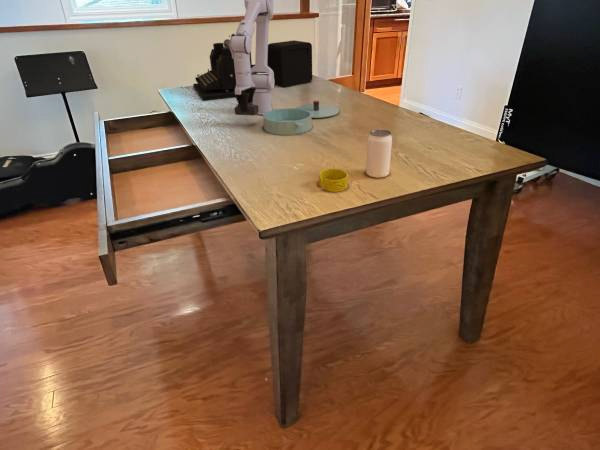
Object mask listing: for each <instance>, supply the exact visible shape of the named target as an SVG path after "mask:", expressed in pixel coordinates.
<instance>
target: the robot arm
mask: <svg viewBox="0 0 600 450" xmlns="http://www.w3.org/2000/svg"><path fill="white" fill-rule="evenodd" d="M243 2H244V8H245V13H244V17H243V19H241V20H240V21H239V23H238V26H237V28H236V31H235V33H234V34H235V36H233V37H232V36H231V37H232V38H231V37H230V39H229V40H230V45H229V47H230V51H231V53H232V58H233V59H234V66H235V76H236V88H235V92H234V96H235V97H234V98H235V100H236V101H237V104H238V103H239V106H240V109H241V112H247V108H248V103H250V102H252V103H253V104H254V105H258V110H259V112H258V113H257V114H256V115H260V116H263V115H264V114H265V113H266V112H268V111H272V110H274V109H275V108H274V109H273V108H272V90H274V88H275V84H274V83H275V81H274V72H273V70H272V69H271V68H270V67H268V64H267V58H268V44H269V27H270V26H269V25H270V21H271V20H272V19H273V18H274V0H244V1H243ZM255 23H256V24H255ZM254 33H255V58H254V59H255V61H254V65H252V68H251V66H250V54H249V53H250V52H251V53H252V48H253V47H252V45H253V40H252V39H253V35H254Z"/></svg>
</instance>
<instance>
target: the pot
mask: <svg viewBox="0 0 600 450" xmlns="http://www.w3.org/2000/svg"><path fill="white" fill-rule="evenodd" d="M262 119H263V130H264V131H265V132H267V133H268V134H272V135H279V136H291V135H292V136H293V135H300V134H305V133H307V132H309V131H310V130H312V126H313V118H312V114H311V112H309V111H307V110H304V109H297V107H286V108H285V107H284V108H276V109H275V108H274V110H272V111H268V112H266V113H265V114H264V115H262Z"/></svg>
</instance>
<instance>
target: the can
mask: <svg viewBox="0 0 600 450" xmlns="http://www.w3.org/2000/svg"><path fill="white" fill-rule="evenodd" d="M392 146H393V137H392V132H391V131H390V130H388V129H379V128H378V129H373V130H370V131H369V135H368V138H367V150H366V162H365V163H366V165H365V166H366V168H365V173H366V175H367V176H369V177H370V178H373V179H382V178H386V177H388V176H389V174H390V169H391V157H392Z"/></svg>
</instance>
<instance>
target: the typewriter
mask: <svg viewBox="0 0 600 450" xmlns="http://www.w3.org/2000/svg"><path fill="white" fill-rule="evenodd" d="M235 34H236V33H232V34H231V35H228V37H229V38H230V39H231V38H232V37H233V36H235ZM230 39H228V38H227V39H224V41H223V42H215V43H213V44H212V46H213V48H211V51H210V53H209V62H210V63H209V64H210V69H209V68H207V72H204V73H203V74H202V73H201V74H196V76H195V77H194V79H195V82H196V83H193V85H192V86H193V89H194V91H196V93H197V95H198V96H199V97H200V99H201V100H202V101H203V102H207V101H216V100H224V99H232V98H235V96H234V92H235V88H236V76H235V66H234V59H233V58H232V53H231V51H230V47H229V45H230ZM249 54H250V66H251V68H252V67H253V61H252V51H251V52H250V53H249Z"/></svg>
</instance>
